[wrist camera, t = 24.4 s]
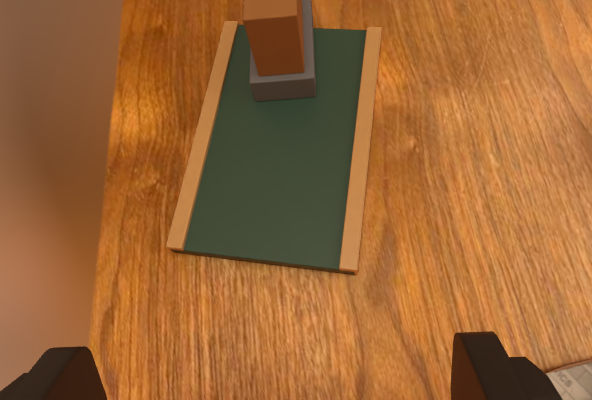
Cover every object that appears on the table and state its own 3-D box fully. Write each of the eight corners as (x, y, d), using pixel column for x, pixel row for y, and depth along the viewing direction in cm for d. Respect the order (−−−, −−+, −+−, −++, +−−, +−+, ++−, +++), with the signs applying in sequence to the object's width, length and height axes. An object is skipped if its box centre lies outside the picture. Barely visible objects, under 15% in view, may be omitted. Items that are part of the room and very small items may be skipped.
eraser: (316, 97, 34) (309, 20, 27) (255, 102, 35) (231, 27, 27) (312, 17, 37) (304, -72, 30) (256, 22, 38) (234, -64, 30)
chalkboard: (172, 252, 32) (165, 247, 31) (228, 32, 39) (224, 20, 38) (356, 275, 30) (357, 270, 29) (380, 39, 37) (381, 27, 36)
